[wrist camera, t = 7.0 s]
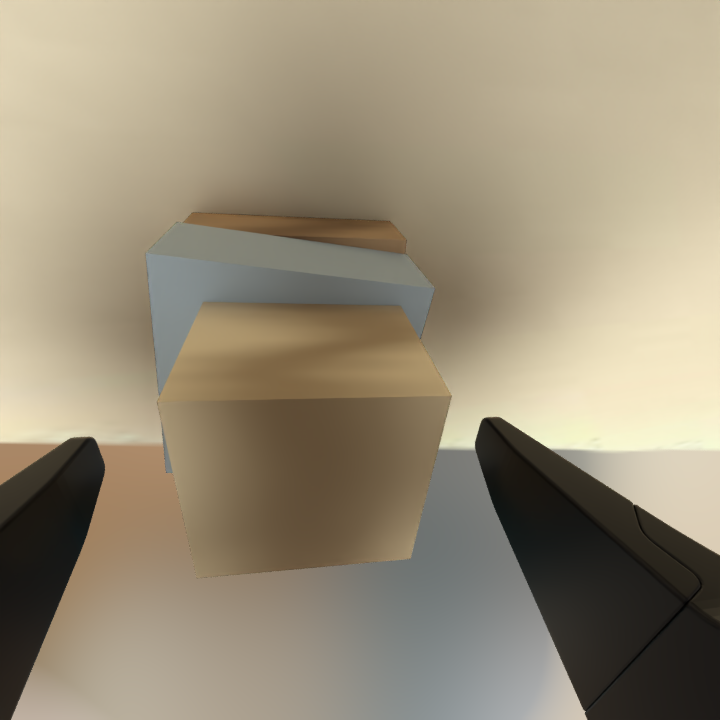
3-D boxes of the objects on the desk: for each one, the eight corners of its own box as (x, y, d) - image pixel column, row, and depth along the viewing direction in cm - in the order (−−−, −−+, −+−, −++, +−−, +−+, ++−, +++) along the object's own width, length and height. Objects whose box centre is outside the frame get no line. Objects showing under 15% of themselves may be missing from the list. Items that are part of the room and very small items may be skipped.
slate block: (407, 254, 13) (435, 288, 10) (366, 419, 16) (380, 474, 14) (176, 221, 11) (145, 252, 9) (186, 412, 15) (165, 472, 12)
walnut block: (387, 218, 15) (406, 239, 13) (371, 370, 19) (383, 410, 16) (195, 209, 14) (174, 231, 12) (217, 373, 18) (205, 417, 15)
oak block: (400, 305, 11) (451, 395, 7) (379, 444, 13) (410, 558, 10) (202, 301, 10) (156, 402, 6) (222, 451, 12) (197, 578, 9)
